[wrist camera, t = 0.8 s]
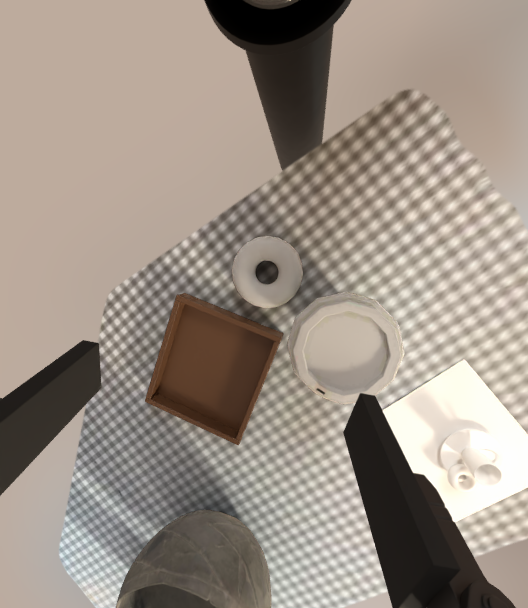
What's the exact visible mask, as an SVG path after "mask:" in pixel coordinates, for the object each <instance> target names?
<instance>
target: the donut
mask: <svg viewBox="0 0 528 608" xmlns="http://www.w3.org/2000/svg"><path fill="white" fill-rule="evenodd" d="M263 261H271V262H273V263H275V265H276V266H277V268H278V271H279V274H278V278H277V280H276V281H275V282H274V283H272V284H267V285H266V284H262V283H261V282H259V281H258V279H257V277H256V273H255V271H256V267H257V266H258V264H259V263H261V262H263ZM232 276H233V283H234V285H235V287H236V289H237V291H238V293H239V294H240V295H241V296H242V297H243V298H244V299H245V300H246V301H248V302H249V303H251V304H253V305H254V306H258V307H263V308H270V307H277V306H280V305H282V304H284V303H287V302H288V301H289V300H290V299H291V298H292V297H293V296H295V294H296V292H297V291H298V289H299V287H300V286H301V281H302V277H303V269H302V262H301V260H300V257H299V255H298V253H297V251H296V250H295V249H294V248H293V247H292V246H291V245H290V244H289V243H288V242H286V241H284V240H282V239H281V238H277V237H272V236H263V237H257V238H255V239H253V240H251V241H249V242H247V243H246V244H245V245H244V246H243V247H242V248H241V249H240V250H239V251H238V253H237V255H236V257H235V259H234V262H233V267H232Z"/></svg>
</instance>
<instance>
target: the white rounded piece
mask: <svg viewBox="0 0 528 608" xmlns="http://www.w3.org/2000/svg"><path fill="white" fill-rule="evenodd" d="M439 459H440V463H441V465H442V466H443V468H444V469H445V470H446V471H447V473H446V478H447V481H448V483H449V485H450V486H451V487H452V488H453V489H454V490H455V491H457V492H459V493H470V492H472V491H473V490H474V489H475V488H476V487H477V485H478V484H479V485H481V486H484V487H493V486H496V485H498V484H499V483H500V482H501V481H502V479H503V472H502V470H501V468H502V467H503V465H504V462H505V450H504V447H503V445H502V444H501V442H500V441H499V440H498V439H497V438H496V437H495V436H494V435H492V434H491V433H489V432H487V431H485V430H482V429H477V428H465V429H460V430H457V431H455V432H453V433H452V434H450V435H449V436H448V437H447V438H446V439H445V440H444V441H443V442H442V444H441V446H440V449H439Z"/></svg>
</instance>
